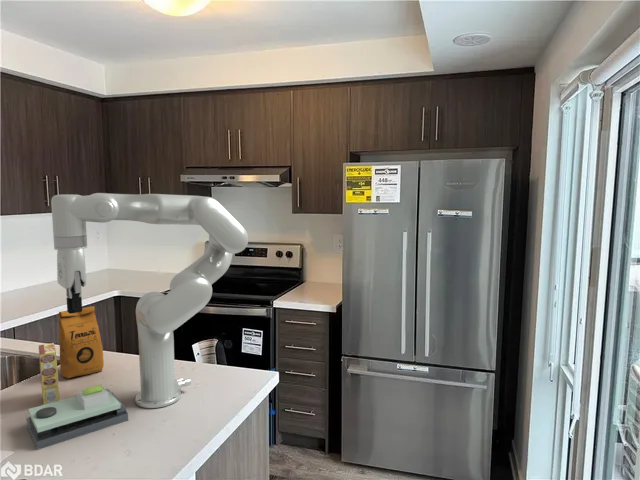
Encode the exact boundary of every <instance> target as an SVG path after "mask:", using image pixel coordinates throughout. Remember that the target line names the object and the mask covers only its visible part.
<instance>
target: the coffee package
mask: <svg viewBox="0 0 640 480" xmlns="http://www.w3.org/2000/svg"><path fill="white" fill-rule="evenodd" d="M57 318H58V340H59V344H58V345H59V368H60V374H61V375H62V376H63V378H66V379H70V378H76V377H80V376H85V375H91V374H94V373H98V372H102V371H103V369H104V365H105V363H104V349H103V344H102V339H101V338H102V337H101V333H100V330H99V329H100V327H99V325H98V320H97V317H96V313H95V306H94V305H93V306H87V307H82V312H78V313H71V314H70V313H68V312H67V310H63V311H61V310H60V311H58V317H57Z"/></svg>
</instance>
